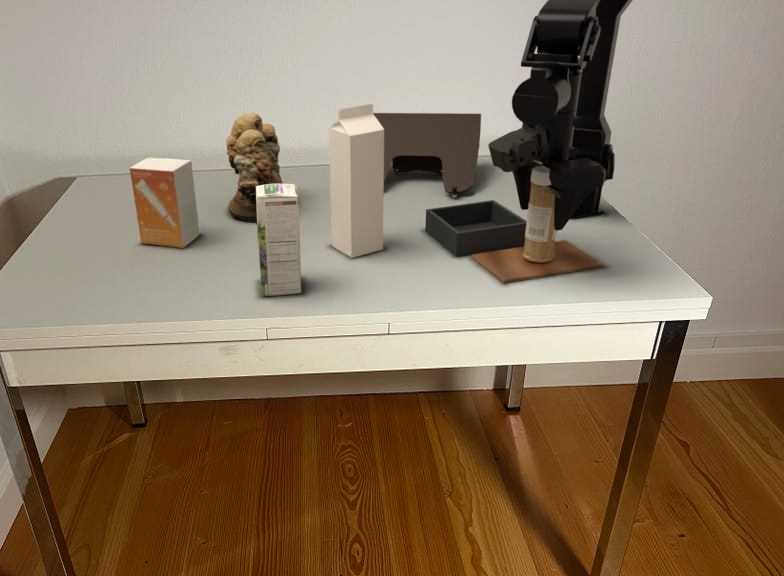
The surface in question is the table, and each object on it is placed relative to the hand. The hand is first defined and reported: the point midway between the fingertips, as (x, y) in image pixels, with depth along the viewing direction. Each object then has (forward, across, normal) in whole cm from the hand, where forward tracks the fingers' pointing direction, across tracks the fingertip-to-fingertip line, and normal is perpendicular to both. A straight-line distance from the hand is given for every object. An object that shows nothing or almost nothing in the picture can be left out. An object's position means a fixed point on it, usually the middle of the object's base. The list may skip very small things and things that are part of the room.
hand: (540, 219), depth 110 cm
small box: (+7, -30, -51) cm, 60 cm away
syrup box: (+7, -5, -38) cm, 39 cm away
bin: (+7, -12, -4) cm, 14 cm away
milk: (+7, -15, -23) cm, 28 cm away
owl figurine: (+7, -40, -33) cm, 52 cm away
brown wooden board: (+7, 0, 0) cm, 7 cm away
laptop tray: (+7, -43, -1) cm, 44 cm away
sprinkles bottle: (+6, 0, 0) cm, 6 cm away
